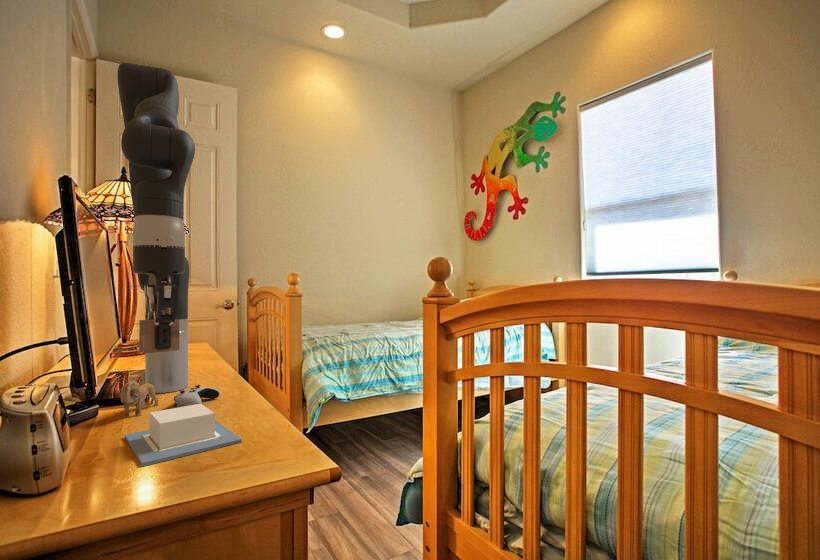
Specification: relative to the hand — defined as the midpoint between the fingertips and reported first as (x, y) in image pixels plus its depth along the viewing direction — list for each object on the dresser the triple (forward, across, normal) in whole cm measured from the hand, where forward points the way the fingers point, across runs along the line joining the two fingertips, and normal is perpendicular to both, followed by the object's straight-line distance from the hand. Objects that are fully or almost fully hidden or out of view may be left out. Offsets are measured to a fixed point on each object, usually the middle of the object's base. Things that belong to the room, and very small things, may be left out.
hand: (159, 347), depth 71 cm
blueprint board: (+16, +1, +3) cm, 16 cm away
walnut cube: (0, 0, 0) cm, 1 cm away
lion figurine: (+16, -22, 0) cm, 27 cm away
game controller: (+16, -19, +12) cm, 27 cm away
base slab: (+15, +1, +3) cm, 16 cm away
